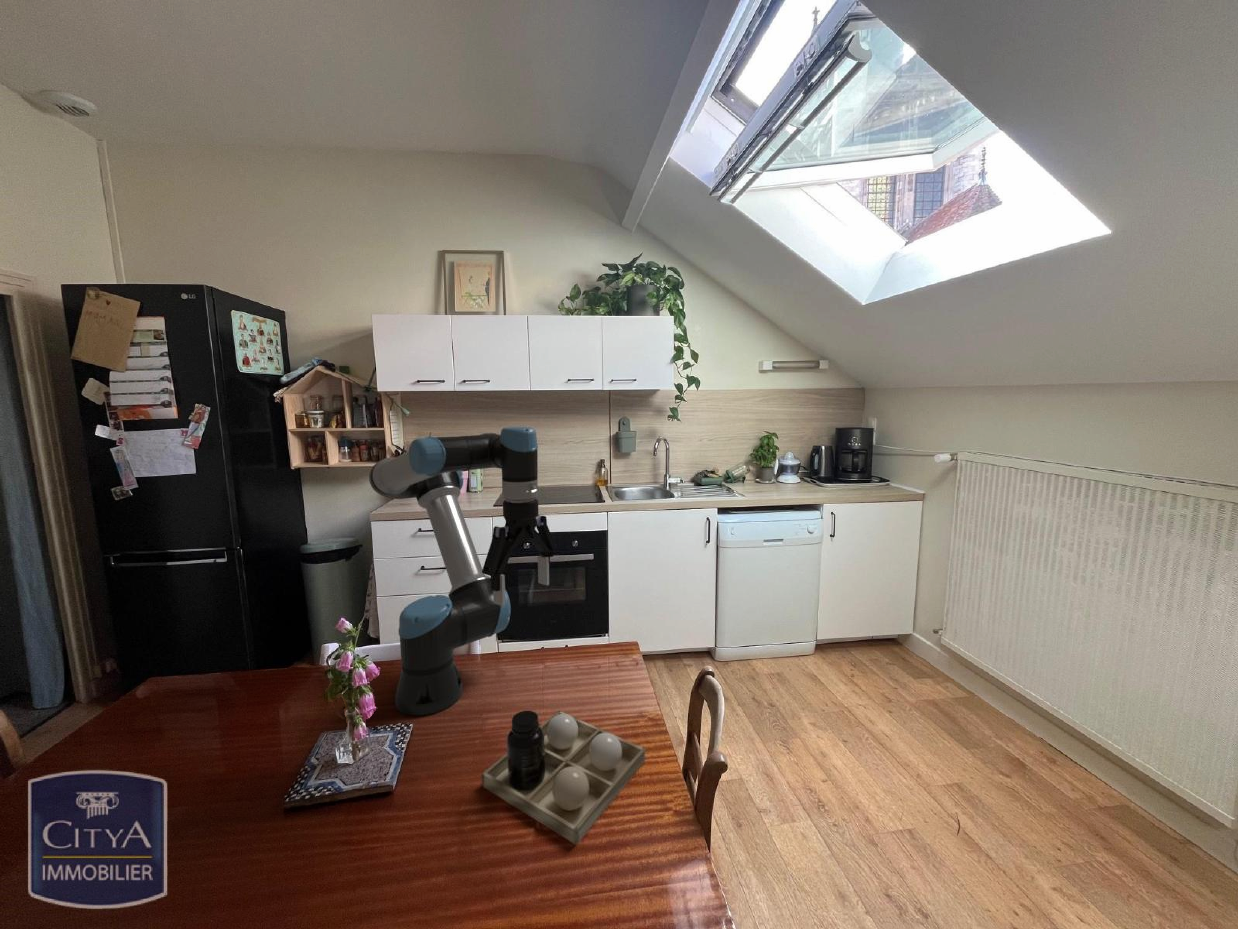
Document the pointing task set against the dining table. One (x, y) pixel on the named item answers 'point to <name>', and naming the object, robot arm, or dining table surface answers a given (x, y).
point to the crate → (541, 797)
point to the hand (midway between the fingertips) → (522, 593)
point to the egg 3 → (605, 752)
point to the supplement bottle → (525, 752)
